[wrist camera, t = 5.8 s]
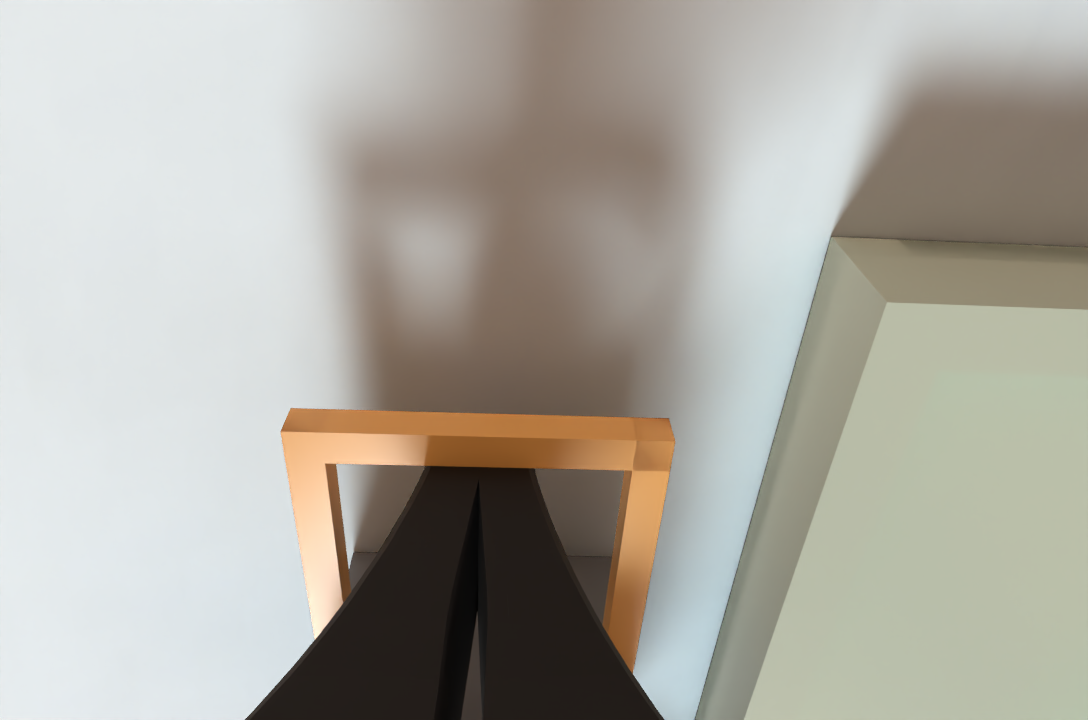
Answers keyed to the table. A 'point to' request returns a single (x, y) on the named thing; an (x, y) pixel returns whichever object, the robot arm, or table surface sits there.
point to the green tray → (922, 497)
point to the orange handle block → (481, 443)
